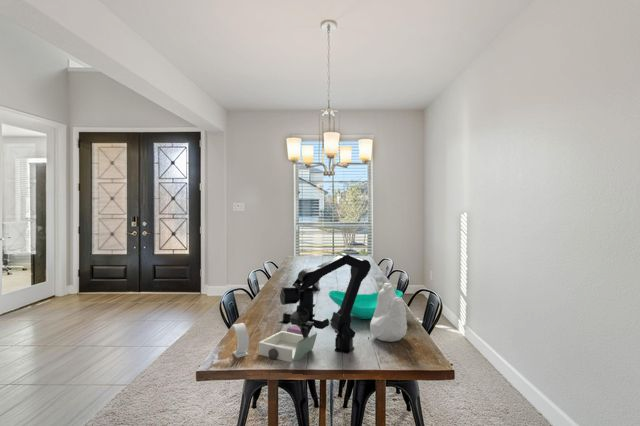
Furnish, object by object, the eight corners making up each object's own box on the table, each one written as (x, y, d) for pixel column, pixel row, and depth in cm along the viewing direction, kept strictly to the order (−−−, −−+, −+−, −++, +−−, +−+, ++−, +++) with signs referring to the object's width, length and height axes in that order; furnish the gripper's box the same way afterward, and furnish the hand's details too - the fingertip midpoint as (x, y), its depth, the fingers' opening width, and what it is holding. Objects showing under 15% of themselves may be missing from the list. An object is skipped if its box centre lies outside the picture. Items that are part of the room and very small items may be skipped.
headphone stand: (243, 351, 164) (243, 322, 164) (249, 356, 159) (248, 326, 159) (232, 353, 162) (232, 324, 161) (238, 358, 157) (238, 328, 156)
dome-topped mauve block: (309, 338, 180) (309, 328, 179) (304, 341, 176) (304, 331, 176) (290, 333, 185) (290, 324, 185) (284, 336, 181) (284, 327, 181)
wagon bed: (313, 347, 168) (313, 336, 168) (288, 363, 152) (288, 350, 152) (283, 340, 176) (283, 329, 176) (256, 355, 160) (256, 343, 160)
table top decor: (330, 326, 195) (330, 300, 195) (326, 310, 223) (326, 287, 222) (409, 325, 198) (410, 298, 197) (395, 309, 225) (395, 286, 225)
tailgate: (312, 348, 165) (317, 332, 164) (295, 360, 154) (300, 343, 152) (310, 347, 166) (315, 331, 164) (293, 358, 154) (298, 341, 153)
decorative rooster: (368, 331, 188) (368, 280, 187) (401, 331, 188) (401, 279, 187) (376, 352, 163) (376, 293, 162) (414, 352, 163) (414, 292, 162)
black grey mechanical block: (287, 317, 212) (287, 309, 212) (299, 319, 209) (299, 310, 208) (274, 324, 201) (275, 315, 201) (287, 326, 197) (287, 317, 197)
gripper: (275, 303, 156) (274, 341, 157) (315, 311, 146) (314, 352, 147) (291, 296, 165) (290, 333, 166) (330, 304, 156) (329, 343, 157)
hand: (305, 340), depth 159 cm, fingers closed, pressing on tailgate
